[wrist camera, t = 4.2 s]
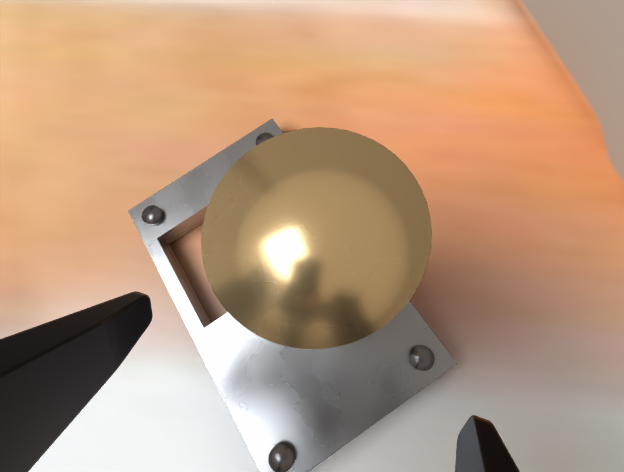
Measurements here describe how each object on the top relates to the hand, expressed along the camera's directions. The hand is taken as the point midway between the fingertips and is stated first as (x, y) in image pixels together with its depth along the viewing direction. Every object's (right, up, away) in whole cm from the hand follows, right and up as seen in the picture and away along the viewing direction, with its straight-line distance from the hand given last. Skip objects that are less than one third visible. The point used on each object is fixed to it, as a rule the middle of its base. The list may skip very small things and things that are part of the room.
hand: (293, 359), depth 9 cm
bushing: (+2, 0, +9) cm, 10 cm away
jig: (-2, 0, +12) cm, 12 cm away
